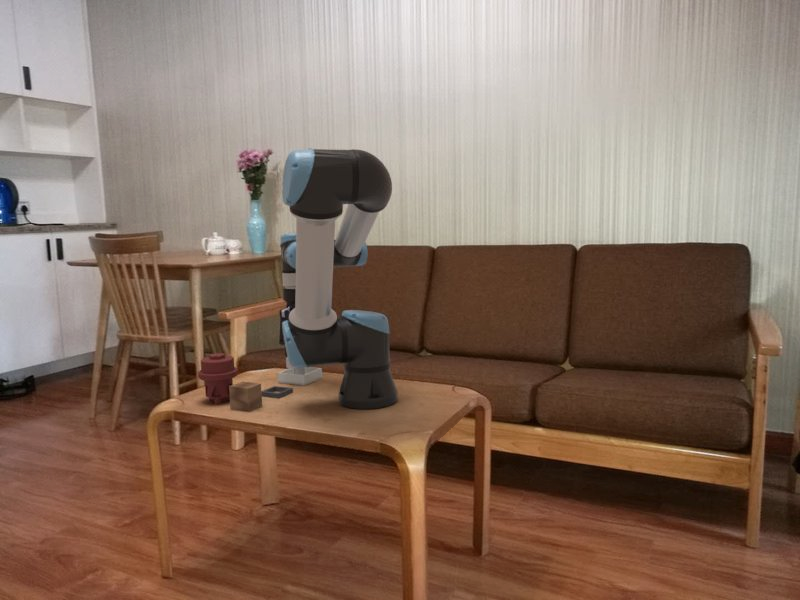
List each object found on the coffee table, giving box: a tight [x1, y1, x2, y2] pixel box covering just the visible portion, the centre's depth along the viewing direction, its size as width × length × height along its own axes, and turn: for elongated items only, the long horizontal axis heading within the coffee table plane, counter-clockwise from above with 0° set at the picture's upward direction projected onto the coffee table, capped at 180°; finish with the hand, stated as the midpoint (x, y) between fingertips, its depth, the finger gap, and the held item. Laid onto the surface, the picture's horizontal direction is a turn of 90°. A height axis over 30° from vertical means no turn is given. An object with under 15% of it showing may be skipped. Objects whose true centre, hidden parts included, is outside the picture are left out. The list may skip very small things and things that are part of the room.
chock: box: [229, 381, 263, 413], centre depth 157 cm, size 6×5×6 cm
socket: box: [261, 385, 294, 399], centre depth 169 cm, size 6×6×1 cm
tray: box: [277, 366, 323, 387], centre depth 183 cm, size 9×9×3 cm
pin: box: [294, 367, 305, 375], centre depth 183 cm, size 3×3×12 cm
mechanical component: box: [197, 352, 239, 405], centre depth 164 cm, size 12×10×10 cm
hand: (299, 364), depth 183 cm, fingers open, 8 cm apart
